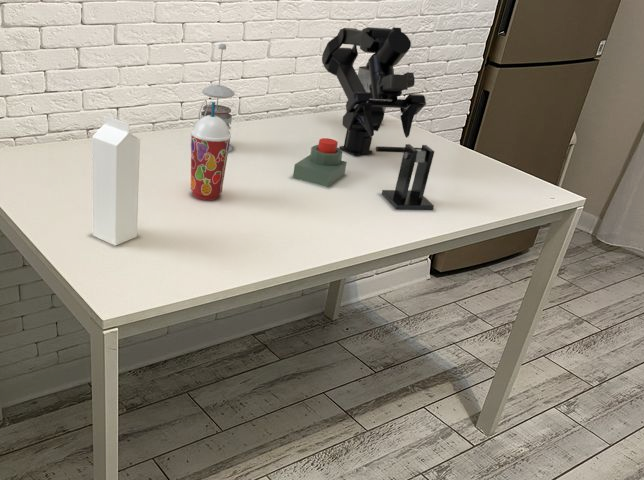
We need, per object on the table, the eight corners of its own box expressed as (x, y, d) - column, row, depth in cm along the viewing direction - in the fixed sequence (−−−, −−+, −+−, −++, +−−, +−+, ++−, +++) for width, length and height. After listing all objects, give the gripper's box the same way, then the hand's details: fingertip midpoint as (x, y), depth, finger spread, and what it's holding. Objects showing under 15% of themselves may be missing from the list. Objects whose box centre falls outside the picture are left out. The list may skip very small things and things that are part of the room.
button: (321, 147, 179) (323, 136, 178) (338, 151, 177) (340, 141, 176) (314, 151, 176) (316, 140, 174) (331, 156, 174) (333, 145, 173)
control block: (311, 165, 184) (315, 141, 181) (345, 174, 181) (349, 150, 178) (292, 178, 175) (296, 153, 172) (327, 187, 172) (331, 162, 169)
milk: (114, 227, 143) (116, 112, 131) (137, 237, 140) (141, 120, 128) (91, 236, 138) (91, 117, 126) (115, 246, 136) (117, 126, 124)
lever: (374, 154, 170) (376, 143, 169) (426, 155, 172) (428, 145, 171) (392, 161, 161) (394, 150, 160) (446, 163, 164) (448, 152, 163)
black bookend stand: (381, 194, 172) (393, 140, 165) (416, 195, 174) (430, 141, 167) (395, 210, 164) (409, 154, 157) (432, 210, 166) (447, 155, 159)
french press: (239, 147, 190) (250, 45, 177) (215, 157, 182) (225, 51, 168) (208, 138, 194) (216, 37, 181) (182, 147, 186) (189, 42, 172)
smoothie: (229, 193, 163) (239, 101, 152) (217, 206, 156) (226, 110, 145) (194, 185, 165) (201, 94, 154) (180, 197, 158) (187, 103, 147)
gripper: (360, 56, 170) (367, 119, 168) (433, 60, 175) (441, 121, 172) (341, 81, 181) (349, 141, 178) (411, 84, 185) (419, 143, 183)
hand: (390, 136), depth 178 cm, fingers open, 9 cm apart
